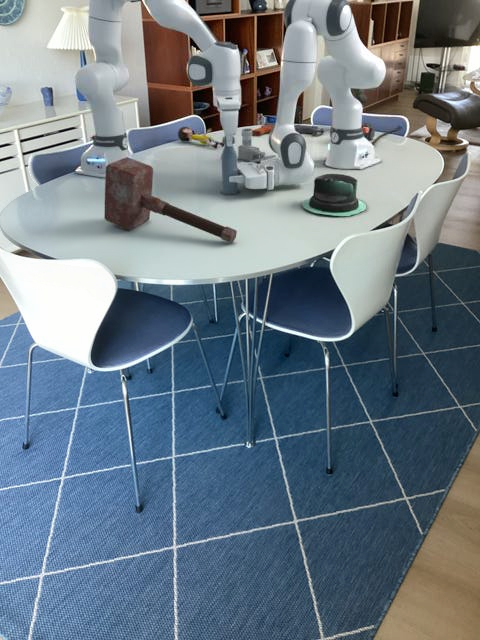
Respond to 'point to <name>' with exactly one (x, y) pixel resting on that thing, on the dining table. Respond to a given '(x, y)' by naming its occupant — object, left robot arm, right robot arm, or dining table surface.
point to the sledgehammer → (146, 200)
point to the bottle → (229, 169)
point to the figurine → (197, 137)
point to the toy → (369, 131)
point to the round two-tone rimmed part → (334, 196)
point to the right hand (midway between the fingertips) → (227, 176)
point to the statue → (359, 95)
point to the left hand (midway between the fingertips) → (228, 144)
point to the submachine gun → (298, 128)
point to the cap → (225, 140)
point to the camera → (250, 149)
